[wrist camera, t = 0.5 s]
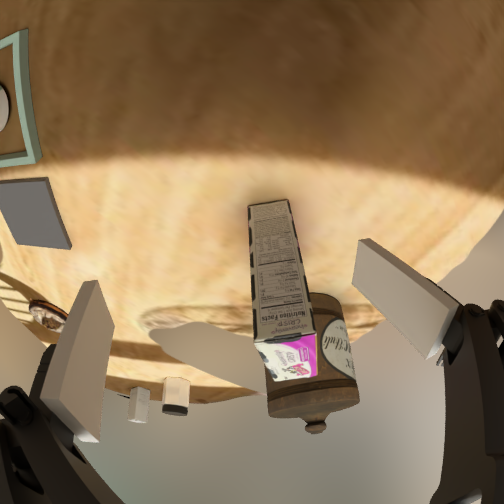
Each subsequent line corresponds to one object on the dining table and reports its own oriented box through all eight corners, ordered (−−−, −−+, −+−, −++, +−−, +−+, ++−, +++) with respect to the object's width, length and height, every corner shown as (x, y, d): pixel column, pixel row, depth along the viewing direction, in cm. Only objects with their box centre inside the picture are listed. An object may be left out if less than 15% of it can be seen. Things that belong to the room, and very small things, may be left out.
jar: (184, 385, 85) (183, 416, 77) (162, 380, 82) (159, 413, 74) (192, 379, 79) (190, 414, 71) (168, 374, 76) (165, 410, 68)
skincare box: (142, 391, 99) (139, 423, 89) (130, 388, 95) (126, 420, 85) (150, 389, 94) (147, 423, 84) (137, 386, 91) (134, 420, 81)
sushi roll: (64, 299, 45) (58, 316, 43) (87, 332, 56) (84, 347, 53) (18, 290, 43) (11, 305, 41) (44, 322, 54) (39, 336, 52)
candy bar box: (300, 260, 37) (318, 376, 26) (264, 266, 38) (272, 383, 27) (290, 195, 29) (319, 336, 18) (246, 204, 30) (249, 346, 19)
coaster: (-7, 181, 23) (-10, 185, 23) (48, 177, 25) (44, 181, 24) (19, 240, 32) (17, 244, 32) (72, 245, 34) (70, 249, 33)
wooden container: (344, 321, 52) (363, 426, 37) (275, 337, 56) (283, 439, 41) (335, 282, 42) (363, 421, 27) (248, 305, 45) (252, 437, 31)
